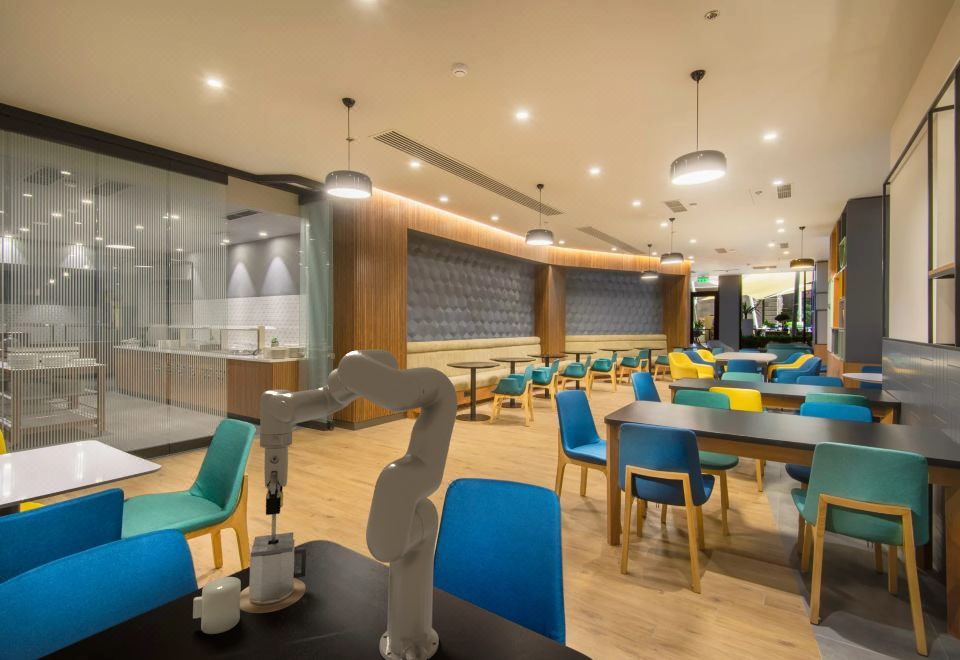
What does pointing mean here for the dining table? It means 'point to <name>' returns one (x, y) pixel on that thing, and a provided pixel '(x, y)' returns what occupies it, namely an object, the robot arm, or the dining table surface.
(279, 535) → the grey handled container
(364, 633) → the dining table surface
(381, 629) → the dining table surface
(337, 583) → the dining table surface
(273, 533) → the plunger
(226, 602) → the mug
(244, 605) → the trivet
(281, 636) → the dining table surface
